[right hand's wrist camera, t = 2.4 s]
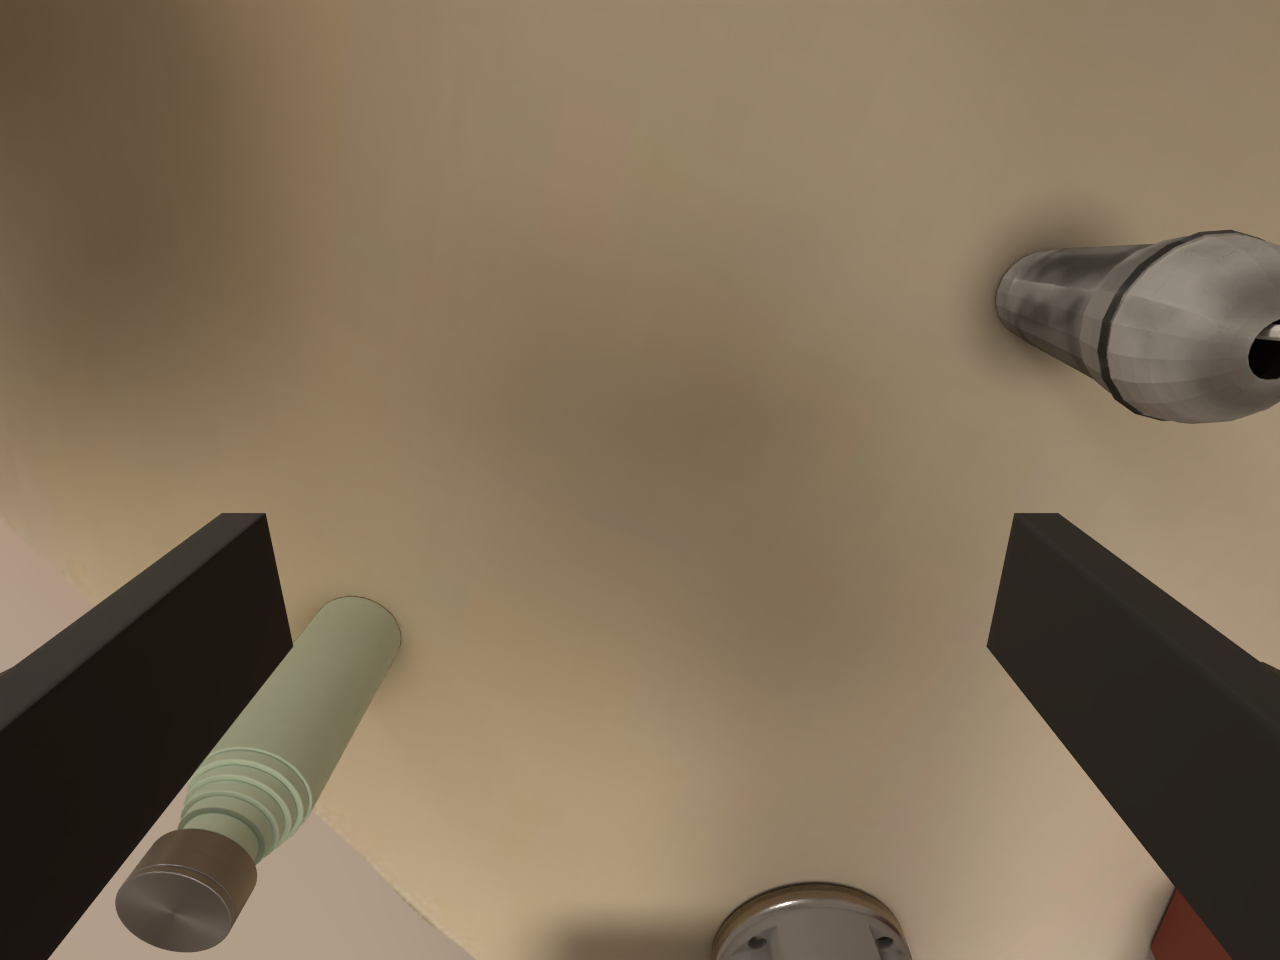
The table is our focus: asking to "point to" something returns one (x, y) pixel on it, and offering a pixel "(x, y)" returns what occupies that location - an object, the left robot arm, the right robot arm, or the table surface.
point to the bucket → (1185, 935)
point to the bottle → (294, 729)
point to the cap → (187, 890)
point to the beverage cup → (1159, 321)
